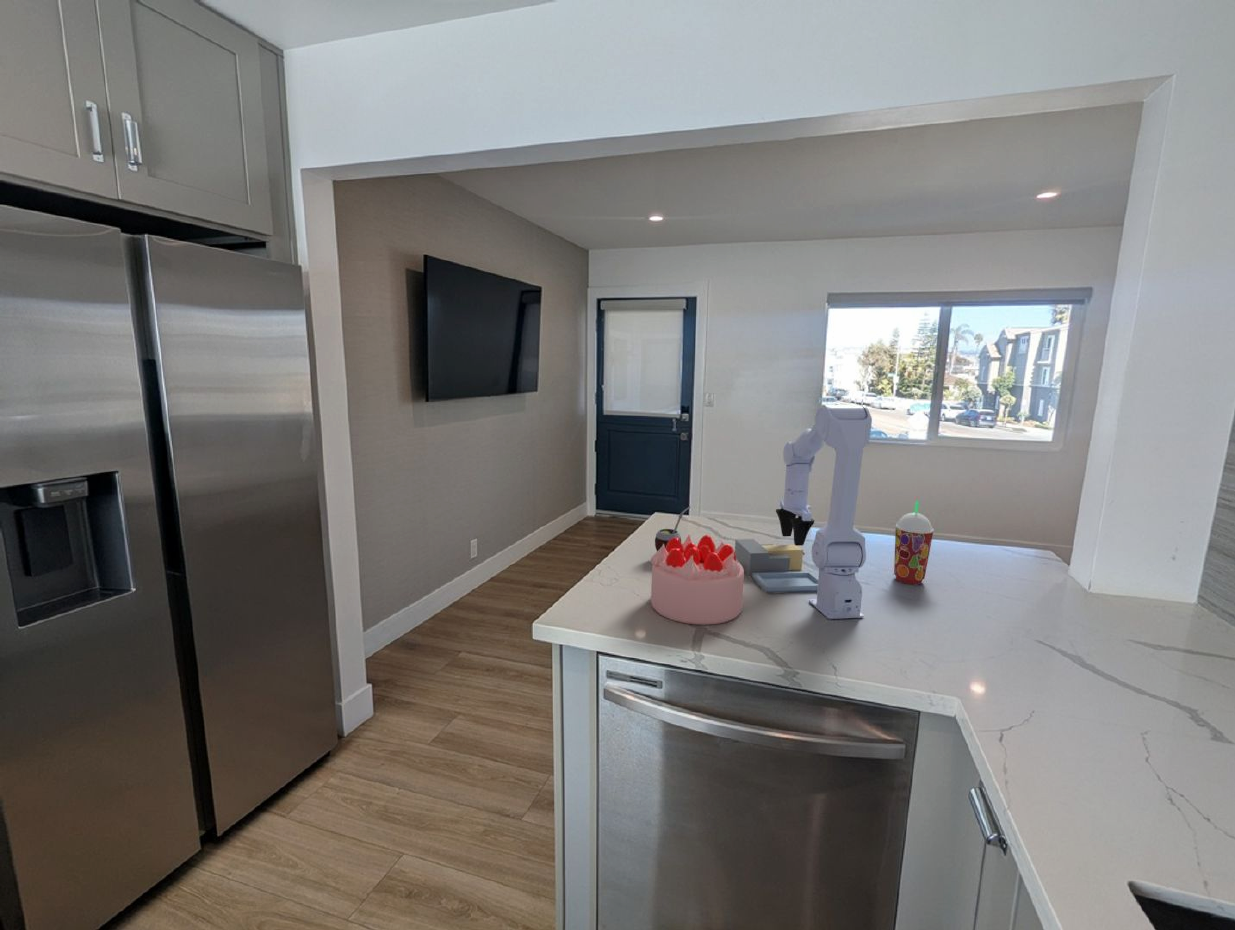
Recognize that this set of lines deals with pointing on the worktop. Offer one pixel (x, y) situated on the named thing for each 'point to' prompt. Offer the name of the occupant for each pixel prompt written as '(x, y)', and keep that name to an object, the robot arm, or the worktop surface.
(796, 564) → the tan block with handle
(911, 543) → the smoothie
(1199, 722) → the worktop surface
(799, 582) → the tray
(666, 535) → the mate gourd
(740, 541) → the dock
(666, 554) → the cake
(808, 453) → the robot arm
